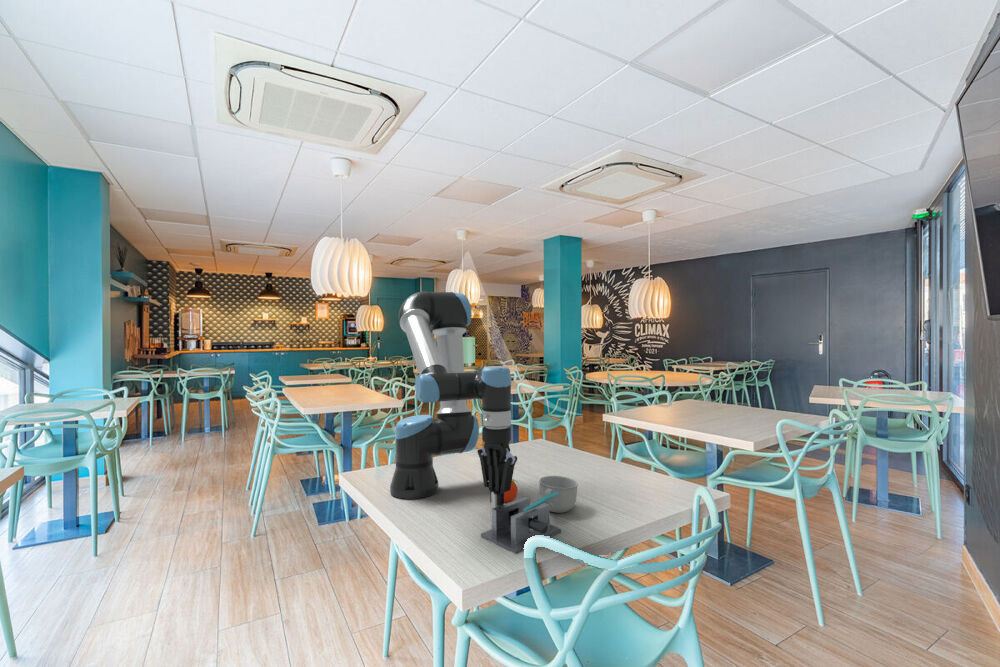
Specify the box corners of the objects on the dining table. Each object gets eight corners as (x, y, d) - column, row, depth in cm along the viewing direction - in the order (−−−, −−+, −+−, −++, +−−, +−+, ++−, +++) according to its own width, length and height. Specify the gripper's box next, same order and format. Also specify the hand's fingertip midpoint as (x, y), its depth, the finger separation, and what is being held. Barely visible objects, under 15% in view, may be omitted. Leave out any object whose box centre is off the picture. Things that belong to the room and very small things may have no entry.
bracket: (480, 536, 112) (480, 509, 112) (525, 518, 123) (525, 493, 123) (515, 553, 103) (515, 523, 103) (560, 532, 114) (560, 504, 114)
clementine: (520, 497, 139) (520, 474, 139) (522, 506, 132) (522, 481, 132) (493, 498, 138) (493, 474, 138) (494, 507, 131) (494, 482, 131)
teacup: (552, 499, 137) (552, 472, 137) (584, 507, 130) (584, 479, 130) (525, 513, 126) (524, 484, 126) (558, 523, 119) (558, 492, 119)
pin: (499, 524, 115) (498, 506, 115) (511, 519, 118) (511, 502, 119) (538, 540, 106) (538, 521, 106) (550, 534, 109) (550, 516, 109)
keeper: (523, 512, 109) (522, 509, 109) (536, 507, 112) (535, 504, 113) (545, 499, 104) (544, 496, 104) (559, 493, 107) (557, 491, 108)
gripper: (469, 424, 121) (470, 513, 121) (503, 432, 112) (504, 528, 112) (490, 420, 127) (490, 506, 127) (524, 427, 117) (525, 519, 117)
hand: (497, 516), depth 119 cm, fingers closed
